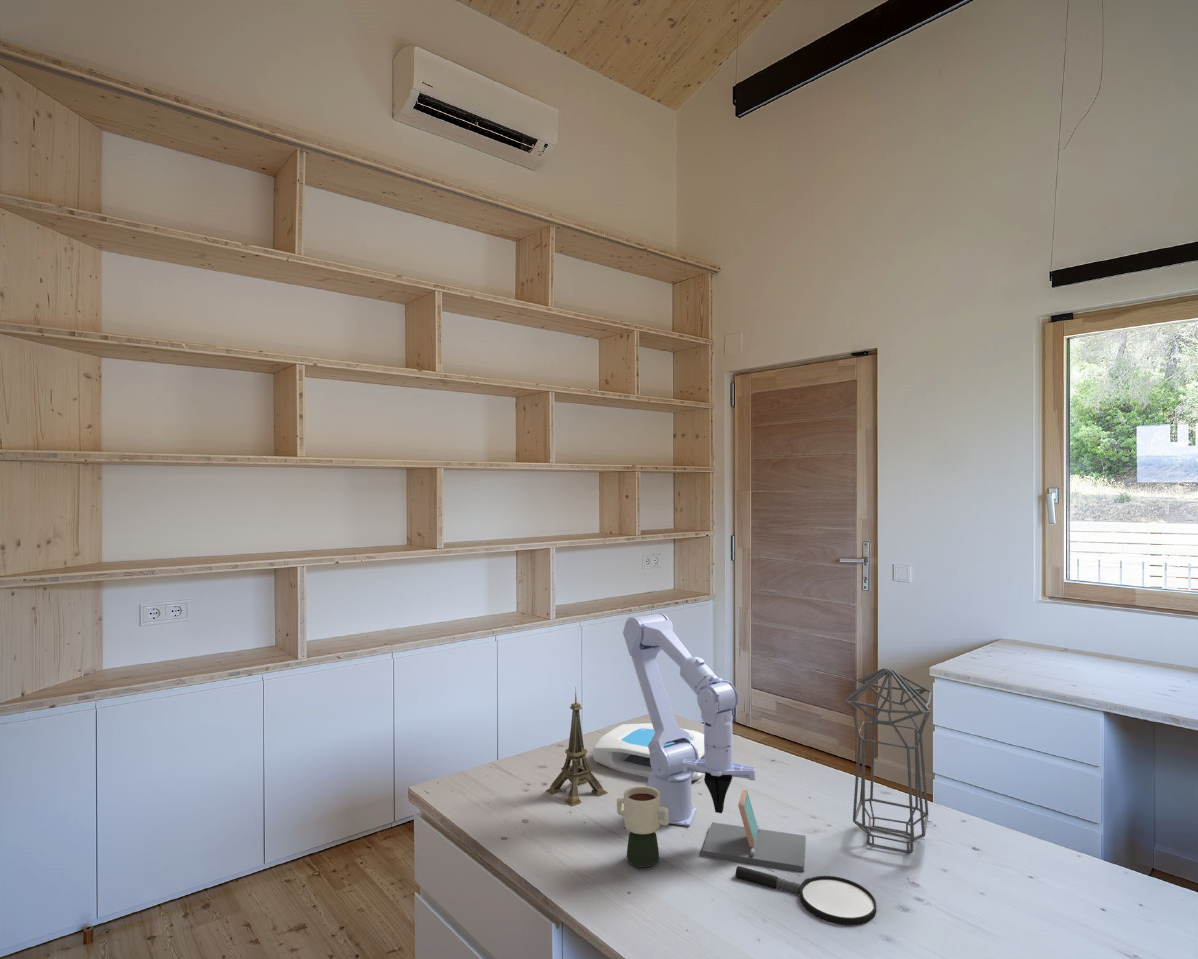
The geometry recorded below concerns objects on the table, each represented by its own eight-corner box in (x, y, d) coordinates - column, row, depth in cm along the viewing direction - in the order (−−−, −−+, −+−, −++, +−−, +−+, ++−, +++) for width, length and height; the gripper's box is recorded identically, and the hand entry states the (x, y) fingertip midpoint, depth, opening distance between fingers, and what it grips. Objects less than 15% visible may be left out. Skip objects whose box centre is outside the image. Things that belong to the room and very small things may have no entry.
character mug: (676, 859, 131) (675, 791, 132) (662, 877, 125) (661, 806, 125) (625, 846, 136) (624, 781, 137) (609, 863, 130) (608, 795, 130)
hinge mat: (702, 855, 132) (702, 845, 133) (712, 826, 144) (711, 817, 144) (803, 871, 126) (803, 861, 126) (805, 840, 138) (805, 831, 138)
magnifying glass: (746, 861, 131) (746, 850, 131) (880, 898, 119) (880, 885, 119) (726, 895, 120) (726, 883, 120) (871, 939, 108) (871, 925, 108)
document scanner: (692, 787, 164) (691, 761, 164) (592, 766, 178) (591, 742, 178) (721, 758, 182) (721, 734, 182) (628, 740, 196) (628, 718, 196)
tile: (738, 805, 133) (743, 804, 133) (742, 790, 140) (747, 789, 139) (749, 846, 132) (755, 846, 132) (753, 829, 139) (758, 829, 138)
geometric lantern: (934, 831, 141) (933, 663, 141) (931, 871, 127) (930, 684, 127) (854, 814, 148) (852, 655, 148) (842, 849, 134) (841, 673, 134)
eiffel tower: (571, 806, 154) (571, 696, 155) (545, 791, 162) (544, 686, 163) (607, 793, 161) (606, 687, 161) (580, 779, 169) (579, 678, 170)
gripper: (679, 746, 136) (680, 814, 136) (752, 754, 132) (753, 824, 131) (686, 734, 143) (686, 799, 143) (756, 741, 138) (757, 808, 138)
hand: (719, 810), depth 138 cm, fingers closed
